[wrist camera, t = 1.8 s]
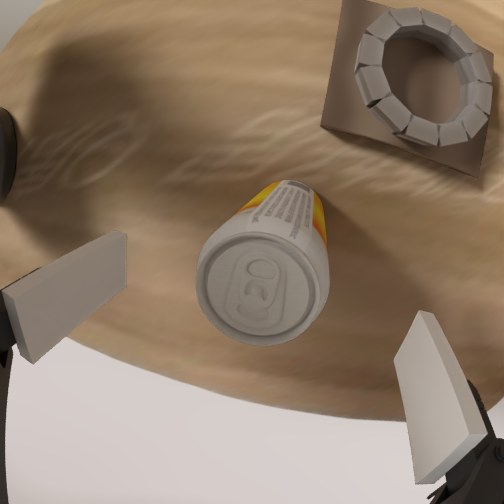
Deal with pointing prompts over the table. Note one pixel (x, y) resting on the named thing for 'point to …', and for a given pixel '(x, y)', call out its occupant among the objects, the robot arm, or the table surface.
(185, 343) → the table surface
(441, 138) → the cup holder
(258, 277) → the beer can
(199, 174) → the table surface
